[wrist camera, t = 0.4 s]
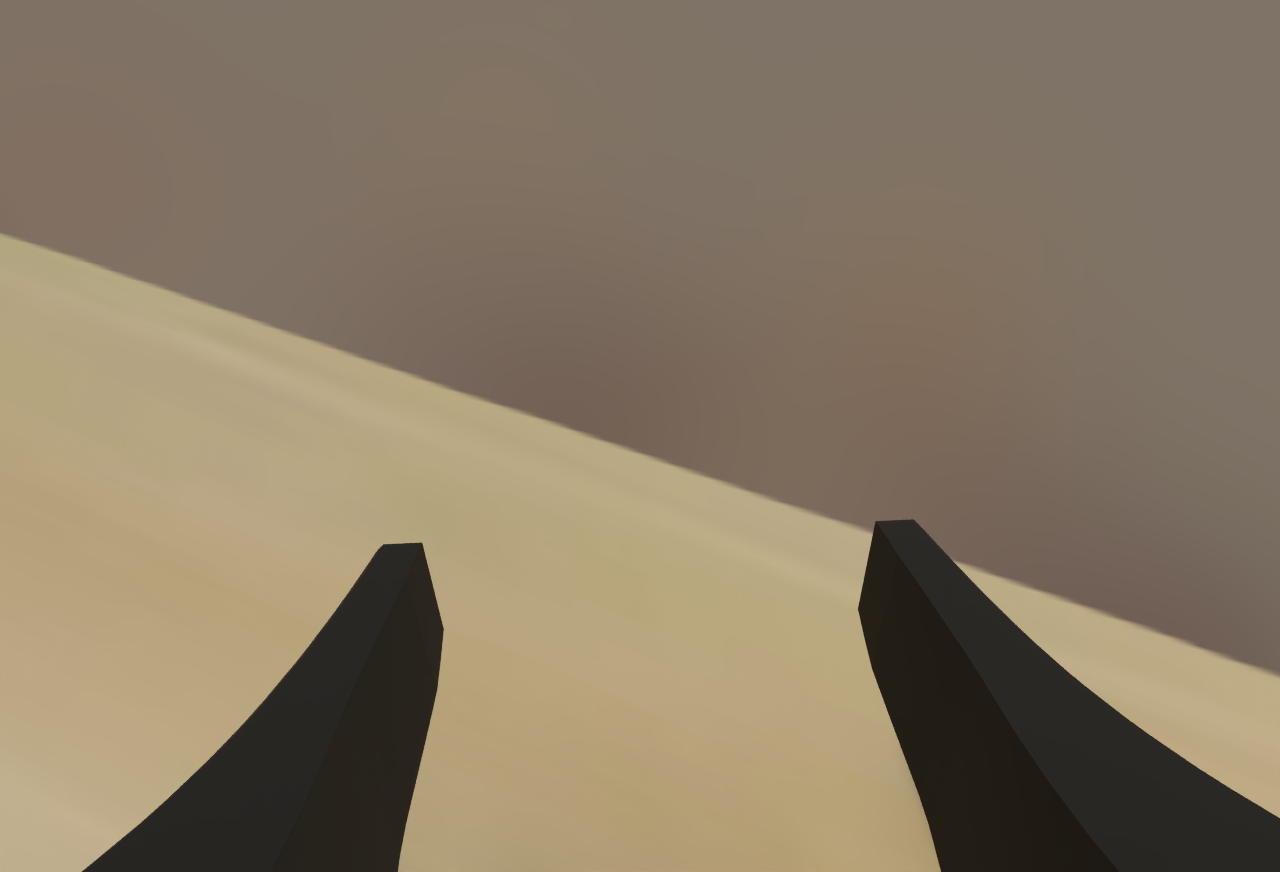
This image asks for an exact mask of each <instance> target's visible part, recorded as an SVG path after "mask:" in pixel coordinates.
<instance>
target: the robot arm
mask: <svg viewBox="0 0 1280 872" xmlns="http://www.w3.org/2000/svg"><path fill="white" fill-rule="evenodd" d="M858 611H859V615H860V620H861V624H862V629H863V633H864V638H865V642H866V646H867V650H868V654H869V658H870V662H871V666H872V669H873V672H874V675H875V678H876V681H877V683H878V686H879V689H880V692H881V694H882V697H883V700H884V703H885V705H886V708H887V711H888V714H889V716H890V719H891V722H892V724H893V727H894V730H895V732H896V735H897V738H898V740H899V743H900V746H901V748H902V751H903V754H904V756H905V759H906V762H907V764H908V767H909V770H910V772H911V775H912V778H913V780H914V783H915V786H916V788H917V791H918V794H919V796H920V799H921V803H922V806H923V809H924V812H925V815H926V818H927V821H928V824H929V827H930V831H931V835H932V839H933V842H934V846H935V850H936V854H937V857H938V861H939V865H940V869H941V872H1280V818H1278V817H1277V816H1275V815H1273V814H1272V813H1270V812H1268V811H1267V810H1265V809H1263V808H1262V807H1260V806H1258V805H1257V804H1255V803H1253V802H1252V801H1250V800H1248V799H1247V798H1245V797H1243V796H1242V795H1240V794H1238V793H1237V792H1235V791H1233V790H1232V789H1230V788H1229V787H1227V786H1225V785H1224V784H1222V783H1221V782H1219V781H1218V780H1216V779H1214V778H1213V777H1211V776H1210V775H1208V774H1207V773H1205V772H1203V771H1202V770H1200V769H1199V768H1197V767H1196V766H1194V765H1193V764H1191V763H1190V762H1188V761H1187V760H1185V759H1184V758H1182V757H1181V756H1180V755H1178V754H1177V753H1175V752H1174V751H1172V750H1171V749H1169V748H1168V747H1166V746H1165V745H1163V744H1162V743H1161V742H1159V741H1158V740H1156V739H1155V738H1153V737H1152V736H1150V735H1149V734H1147V733H1146V732H1145V731H1143V730H1142V729H1141V728H1139V727H1138V726H1136V725H1135V724H1134V723H1132V722H1131V721H1130V720H1128V719H1127V718H1126V717H1124V716H1123V715H1122V714H1120V713H1119V712H1118V711H1116V710H1115V709H1114V708H1113V707H1111V706H1110V705H1109V704H1107V703H1106V702H1105V701H1104V700H1102V699H1101V698H1100V697H1098V696H1097V695H1096V694H1095V693H1093V692H1092V691H1091V690H1089V689H1088V688H1087V687H1086V686H1084V685H1083V684H1082V683H1081V682H1079V681H1078V680H1077V679H1076V678H1075V677H1073V676H1072V675H1071V674H1070V673H1069V672H1067V671H1066V670H1065V669H1064V668H1063V667H1062V666H1060V665H1059V664H1058V663H1057V662H1056V661H1055V660H1054V659H1053V658H1051V657H1050V656H1049V655H1048V654H1047V653H1046V652H1045V651H1044V650H1042V649H1041V648H1040V647H1039V646H1038V645H1037V644H1036V643H1035V642H1034V641H1032V640H1031V639H1030V638H1029V637H1028V636H1027V635H1026V634H1025V633H1024V632H1023V631H1022V630H1021V629H1020V628H1019V627H1018V626H1017V625H1015V624H1014V623H1013V622H1012V621H1011V620H1010V619H1009V618H1008V617H1007V616H1006V615H1005V614H1004V613H1003V612H1002V611H1001V610H1000V609H999V608H998V607H997V606H996V605H995V604H994V603H993V602H992V601H991V600H990V599H989V598H988V597H987V596H986V595H985V594H984V593H983V592H982V591H981V590H980V589H979V588H978V587H977V586H976V585H975V584H974V583H973V582H972V581H971V580H970V579H969V577H968V576H967V575H966V574H965V573H964V572H963V571H962V570H961V569H960V568H959V567H958V566H957V565H956V564H955V563H954V562H953V561H952V560H951V559H950V557H949V556H948V555H947V554H946V553H945V552H944V551H943V550H942V549H941V548H940V547H939V546H938V545H937V544H936V542H935V541H934V540H933V539H932V538H931V537H930V536H929V535H928V534H927V533H926V532H925V531H924V530H923V529H922V528H921V527H920V526H919V524H918V523H917V522H915V520H893V521H876V522H875V527H874V532H873V537H872V542H871V547H870V552H869V557H868V562H867V567H866V572H865V577H864V582H863V587H862V592H861V597H860V602H859V607H858ZM443 631H444V629H443V625H442V621H441V617H440V613H439V609H438V605H437V601H436V597H435V592H434V588H433V584H432V580H431V576H430V572H429V568H428V564H427V560H426V556H425V552H424V548H423V544H422V543H404V544H383V545H382V546H381V547H380V548H379V549H378V550H377V552H376V553H375V555H374V556H373V558H372V559H371V561H370V562H369V564H368V565H367V567H366V568H365V570H364V571H363V572H362V574H361V575H360V577H359V578H358V580H357V581H356V583H355V584H354V586H353V587H352V588H351V590H350V591H349V593H348V594H347V595H346V597H345V598H344V600H343V601H342V602H341V604H340V605H339V607H338V608H337V609H336V611H335V612H334V614H333V615H332V616H331V618H330V619H329V620H328V622H327V623H326V624H325V626H324V627H323V628H322V629H321V631H320V632H319V633H318V635H317V636H316V637H315V639H314V640H313V641H312V643H311V644H310V645H309V647H308V648H307V649H306V651H305V652H304V653H303V654H302V656H301V657H300V658H299V659H298V661H297V662H296V663H295V664H294V665H293V667H292V668H291V669H290V670H289V671H288V673H287V674H286V675H285V676H284V677H283V679H282V680H281V681H280V682H279V683H278V685H277V686H276V687H275V688H274V689H273V691H272V692H271V693H270V694H269V695H268V697H267V698H266V699H265V700H264V701H263V702H262V704H261V705H260V706H259V707H258V708H257V709H256V710H255V711H254V713H253V714H252V715H251V716H250V717H249V718H248V719H247V720H246V721H245V722H244V724H243V725H242V726H241V727H240V728H239V729H238V730H237V731H236V732H235V733H234V734H233V735H232V736H231V737H230V738H229V739H228V740H227V741H226V743H225V744H224V745H223V746H222V747H221V748H220V749H219V750H218V751H217V752H216V753H215V754H214V755H213V756H212V757H211V758H210V759H209V760H208V761H207V762H206V763H205V764H204V765H203V766H202V767H201V768H200V769H199V770H198V771H196V772H195V773H194V774H193V775H192V776H191V777H190V778H189V779H188V780H187V781H186V782H185V783H184V784H183V785H182V786H181V787H180V788H179V789H178V790H177V791H175V792H174V793H173V794H172V795H171V796H170V797H169V798H168V799H167V800H166V801H165V802H164V803H163V804H161V805H160V806H159V807H158V808H157V809H156V810H155V811H154V812H153V813H151V814H150V815H149V816H148V817H147V818H146V819H145V820H144V821H142V822H141V823H140V824H139V825H138V826H137V827H135V828H134V829H133V830H132V831H130V832H129V833H128V834H127V835H126V836H124V837H123V838H122V839H121V840H120V841H118V842H117V843H116V844H115V845H114V846H112V847H111V848H110V849H109V850H108V851H106V852H105V853H104V854H103V855H102V856H100V857H99V858H98V859H97V860H96V861H94V862H93V863H92V864H91V865H90V866H88V867H87V868H86V869H85V870H83V871H82V872H398V866H399V859H400V852H401V847H402V842H403V837H404V832H405V826H406V822H407V817H408V813H409V809H410V805H411V800H412V796H413V792H414V788H415V783H416V779H417V775H418V771H419V766H420V762H421V758H422V754H423V749H424V745H425V741H426V737H427V732H428V728H429V724H430V719H431V715H432V710H433V706H434V702H435V697H436V693H437V687H438V678H439V670H440V661H441V651H442V641H443Z"/></svg>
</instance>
